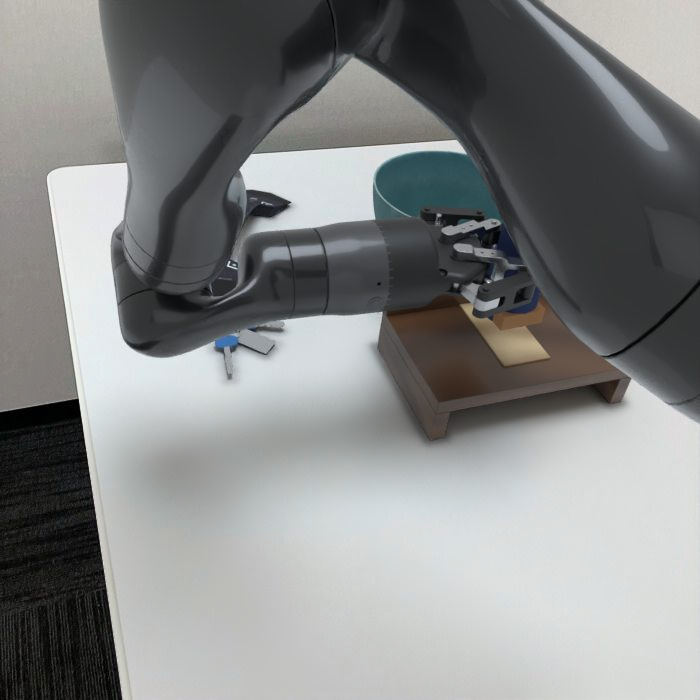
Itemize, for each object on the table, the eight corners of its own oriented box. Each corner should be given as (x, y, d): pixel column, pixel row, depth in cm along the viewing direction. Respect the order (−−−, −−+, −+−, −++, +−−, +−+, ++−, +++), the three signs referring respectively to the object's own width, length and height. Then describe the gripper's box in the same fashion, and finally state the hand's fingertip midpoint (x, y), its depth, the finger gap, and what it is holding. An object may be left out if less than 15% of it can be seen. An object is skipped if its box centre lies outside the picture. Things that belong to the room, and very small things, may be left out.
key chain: (189, 298, 86) (189, 292, 86) (259, 285, 89) (259, 279, 89) (227, 378, 77) (227, 372, 76) (304, 361, 80) (305, 355, 79)
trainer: (543, 322, 70) (577, 217, 63) (498, 331, 69) (528, 224, 62) (491, 266, 77) (517, 164, 70) (448, 272, 75) (471, 169, 68)
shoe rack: (621, 401, 80) (648, 342, 75) (429, 440, 73) (444, 378, 68) (551, 319, 90) (571, 262, 85) (376, 347, 83) (386, 287, 78)
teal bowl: (403, 335, 85) (421, 240, 77) (338, 247, 97) (347, 157, 89) (538, 306, 92) (567, 216, 84) (461, 227, 104) (480, 142, 96)
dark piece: (293, 200, 105) (295, 178, 103) (242, 305, 86) (243, 280, 84) (229, 189, 106) (229, 166, 104) (164, 290, 87) (162, 265, 84)
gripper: (407, 279, 55) (609, 258, 60) (347, 182, 66) (524, 171, 71) (393, 358, 60) (581, 332, 65) (339, 257, 70) (505, 241, 75)
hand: (550, 249), depth 68 cm, fingers closed on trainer, 5 cm apart
